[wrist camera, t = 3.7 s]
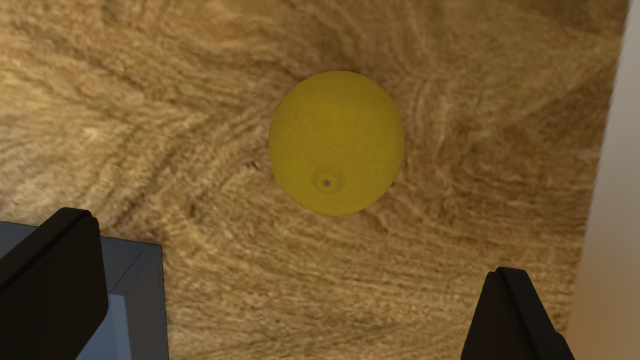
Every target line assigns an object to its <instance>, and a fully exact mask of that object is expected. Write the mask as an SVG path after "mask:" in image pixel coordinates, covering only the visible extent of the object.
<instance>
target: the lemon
mask: <svg viewBox="0 0 640 360" xmlns="http://www.w3.org/2000/svg"><path fill="white" fill-rule="evenodd" d="M403 154H404V127H403V123H402V120H401V116H400V112H399V110H398V108H397V107H396V105H395V103H394V102H393V100H392V98H391V97H390V95H389V94H388V93H387V92H386V91H385V90H384V89H383V88H382V87H381V86H380V85H379V84H378V83H376V82H374V81H373V80H371V79H369V78H367V77H366V76H364V75H361V74H357V73H354V72H350V71H327V72H323V73H319V74H315V75H313V76H311V77H309V78H307V79H305V80H304V81H302V82H300V83H299V84H297V85H296V86H295V87H294V88H293V89H292V90H291V91H290V92H289V93H288V94H287V95H286V96H285V97H284V98H283V100H282V102H281V103H280V105H279V107H278V108H277V110H276V112H275V114H274V117H273V120H272V124H271V128H270V132H269V159H270V163H271V167H272V171H273V174H274V176H275V178H276V180H277V182H278V183H279V185H280V187H281V189H282V190H283V191H284V192H285V193H286V194H287V195H288V196H289V198H290V199H291V200H292V201H294V202H295V203H297V204H298V205H300V206H301V207H303V208H305V209H307V210H310V211H312V212H315V213H318V214H324V215H330V216H336V215H348V214H351V213H355V212H358V211H361V210H363V209H364V208H366V207H368V206H370V205H371V204H373V203H374V202H376V201H377V200H378V199H379V198H380V197H381V196H382V195H383V194H384V193H385V192H386V191H387V190H388V188H389V187H390V185H391V183H392V182H393V180H394V178H395V177H396V175H397V173H398V171H399V168H400V165H401V161H402V157H403Z"/></svg>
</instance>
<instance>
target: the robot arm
mask: <svg viewBox="0 0 640 360" xmlns="http://www.w3.org/2000/svg"><path fill="white" fill-rule="evenodd" d="M108 309H109V300H108V292H107V284H106V277H105V269H104V261H103V254H102V246H101V238H100V231H99V223H98V220H97V218H95V217H92V214H91V212H90V211H88V210H83V209H76V208H68V207H63V208H61V209H59V210H58V211H57V212H56V213H55V214H53V215H52V216H51V217H50V218H49V219H47V220H46V221H45V222H44V223H43V224H41V225H40V226H39V227H38V228H37V229H35V230H34V231H33V232H32V233H31V234H29V235H28V236H27V237H26V238H25V239H23V240H22V241H21V242H20V243H19V244H18V245H16V246H15V247H14V248H13V249H12V250H10V251H9V252H8V253H7V254H6V255H4V256H3V257H2V258H1V259H0V360H76V358H77V357H78V355H79V354H80V353H81V351H82V350H83V348H84V347H85V346H86V344H87V343H88V342H89V340H90V339H91V337H92V336H93V335H94V333H95V332H96V330H97V329H98V328H99V326H100V325H101V323H102V322H103V321H104V319H105V317H106V315H107V313H108ZM461 360H575V359H574V357H573V355H572V353H571V351H570V349H569V347H568V345H567V343H566V341H565V339H564V338H563V336H562V335H561V334H559V333H558V332H556V331H555V329H554V327H553V325H552V323H551V321H550V319H549V317H548V315H547V313H546V311H545V309H544V307H543V305H542V303H541V301H540V299H539V297H538V294H537V292H536V290H535V288H534V286H533V284H532V282H531V280H530V278H529V276H528V274H527V272H526V271H525V270H522V269H515V268H507V267H498V268H497V269H496V271H495V272H491V271H490V272H488V274H487V276H486V279H485V282H484V285H483V288H482V292H481V295H480V298H479V301H478V304H477V307H476V310H475V313H474V316H473V320H472V323H471V326H470V329H469V332H468V335H467V338H466V341H465V344H464V348H463V351H462V354H461Z"/></svg>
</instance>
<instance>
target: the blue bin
mask: <svg viewBox="0 0 640 360" xmlns="http://www.w3.org/2000/svg"><path fill="white" fill-rule="evenodd" d="M37 228H38V227H34V226H28V225H21V224H14V223H8V222H1V221H0V259H1V258H2V257H3V256H4V255H6V254H7V253H8V252H9V251H10V250H12V249H13V248H14V247H15V246H16V245H18V244H19V243H20V242H21V241H22V240H23V239H25V238H26V237H27V236H28V235H29V234H31V233H32V232H33V231H34V230H35V229H37ZM100 238H101V246H102V254H103V261H104V269H105V277H106V284H107V292H108V300H109V309H108V313H107V315H106V317H105V319H104V321H103V322H102V323H101V325H100V326H99V328H98V329H97V330H96V332H95V333H94V335H93V336H92V337H91V339H90V340H89V342H88V343H87V344H86V346H85V347H84V348H83V350H82V351H81V353H80V354H79V355H78V357H77V358H76V360H169V359H168V344H167V329H166V314H165V299H164V284H163V269H162V253H161V246H160V245H154V244H147V243H140V242H134V241H127V240H121V239H114V238H107V237H101V236H100Z"/></svg>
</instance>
